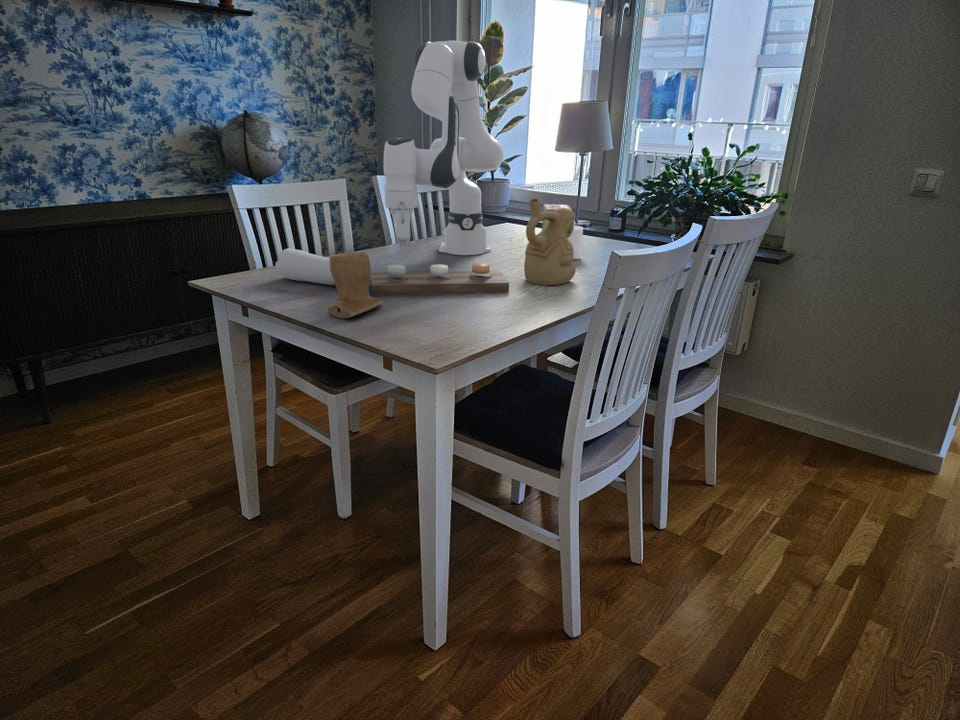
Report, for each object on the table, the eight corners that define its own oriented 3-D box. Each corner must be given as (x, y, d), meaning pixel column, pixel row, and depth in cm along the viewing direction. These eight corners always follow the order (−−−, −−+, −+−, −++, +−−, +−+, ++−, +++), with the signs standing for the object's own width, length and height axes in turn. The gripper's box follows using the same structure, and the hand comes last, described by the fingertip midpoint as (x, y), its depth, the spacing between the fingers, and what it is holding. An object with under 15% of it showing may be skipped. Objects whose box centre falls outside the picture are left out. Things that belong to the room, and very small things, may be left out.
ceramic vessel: (588, 281, 190) (595, 197, 181) (545, 292, 178) (551, 202, 168) (546, 271, 202) (551, 191, 192) (503, 280, 189) (506, 196, 180)
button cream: (429, 271, 180) (429, 264, 179) (447, 270, 181) (447, 264, 180) (431, 275, 176) (431, 268, 175) (448, 275, 176) (449, 268, 176)
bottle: (269, 271, 181) (353, 288, 169) (279, 242, 182) (363, 257, 170) (288, 282, 189) (370, 299, 177) (298, 254, 190) (380, 270, 179)
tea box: (569, 250, 233) (572, 209, 227) (542, 249, 233) (545, 209, 227) (565, 242, 247) (568, 203, 241) (540, 241, 247) (542, 203, 241)
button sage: (387, 272, 178) (387, 265, 178) (405, 271, 179) (405, 264, 178) (388, 276, 174) (387, 269, 173) (406, 276, 175) (406, 269, 174)
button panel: (372, 283, 183) (372, 272, 182) (499, 280, 189) (499, 269, 188) (372, 296, 171) (371, 284, 169) (508, 292, 176) (509, 281, 175)
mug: (549, 260, 215) (551, 229, 211) (560, 254, 225) (562, 224, 221) (572, 263, 212) (575, 232, 208) (583, 257, 222) (586, 226, 218)
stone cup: (351, 300, 167) (348, 244, 161) (389, 307, 162) (387, 249, 156) (314, 315, 154) (308, 255, 148) (353, 323, 149) (349, 261, 144)
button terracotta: (470, 269, 182) (471, 263, 181) (487, 269, 183) (488, 262, 182) (473, 274, 177) (473, 267, 177) (490, 273, 178) (491, 266, 177)
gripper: (414, 206, 160) (416, 259, 165) (411, 195, 179) (412, 243, 184) (390, 206, 159) (392, 259, 165) (389, 195, 178) (390, 243, 183)
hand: (402, 250), depth 175 cm, fingers closed
